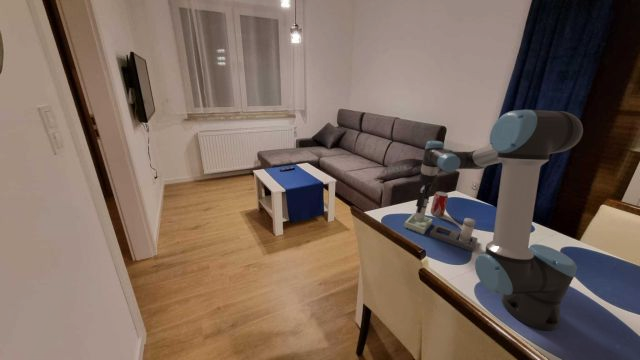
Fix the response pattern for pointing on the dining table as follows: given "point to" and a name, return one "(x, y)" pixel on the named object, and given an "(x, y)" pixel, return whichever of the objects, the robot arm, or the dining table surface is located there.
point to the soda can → (439, 203)
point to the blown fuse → (422, 212)
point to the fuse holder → (457, 235)
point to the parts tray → (418, 224)
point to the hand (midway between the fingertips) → (419, 215)
